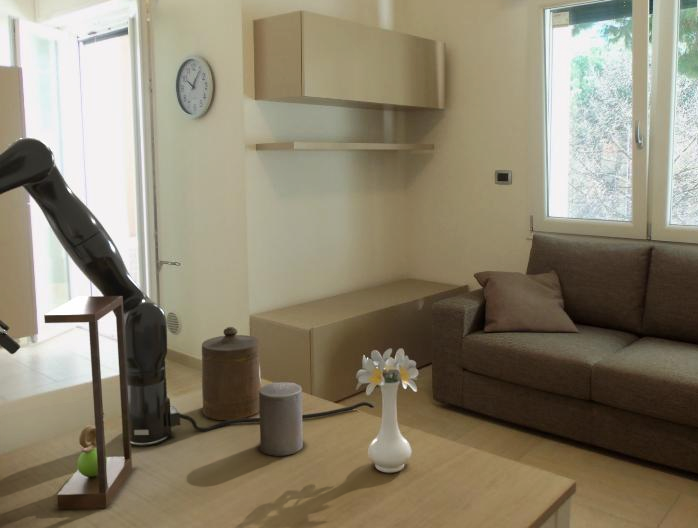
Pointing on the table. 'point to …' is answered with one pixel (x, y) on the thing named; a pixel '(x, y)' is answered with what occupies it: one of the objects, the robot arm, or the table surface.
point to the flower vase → (388, 406)
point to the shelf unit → (98, 406)
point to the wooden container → (230, 376)
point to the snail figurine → (88, 452)
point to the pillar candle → (280, 418)
